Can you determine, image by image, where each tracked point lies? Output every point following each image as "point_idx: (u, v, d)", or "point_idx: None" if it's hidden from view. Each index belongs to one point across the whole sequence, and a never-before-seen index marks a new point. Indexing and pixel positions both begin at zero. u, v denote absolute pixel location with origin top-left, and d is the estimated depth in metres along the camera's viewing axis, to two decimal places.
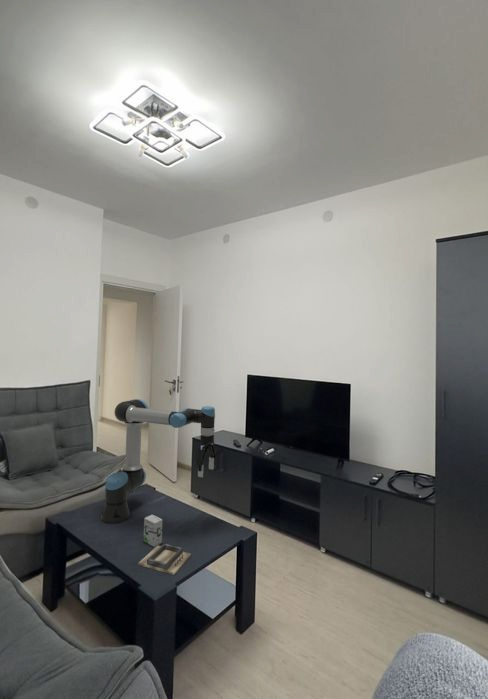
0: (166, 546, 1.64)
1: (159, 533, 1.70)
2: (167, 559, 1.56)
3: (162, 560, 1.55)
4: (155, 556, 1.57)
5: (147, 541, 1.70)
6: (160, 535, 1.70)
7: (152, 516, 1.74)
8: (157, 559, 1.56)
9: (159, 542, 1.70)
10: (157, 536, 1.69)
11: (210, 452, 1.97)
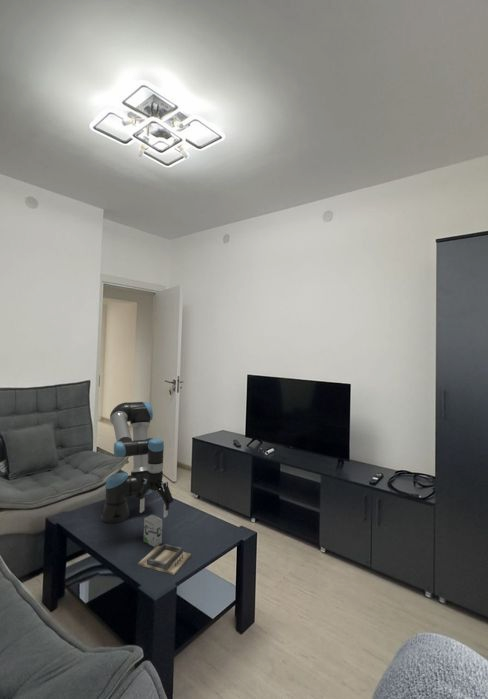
0: (166, 546, 1.64)
1: (159, 533, 1.70)
2: (167, 559, 1.56)
3: (162, 560, 1.55)
4: (155, 556, 1.57)
5: (147, 541, 1.70)
6: (160, 535, 1.70)
7: (152, 516, 1.74)
8: (157, 559, 1.56)
9: (159, 542, 1.70)
10: (157, 536, 1.69)
11: None
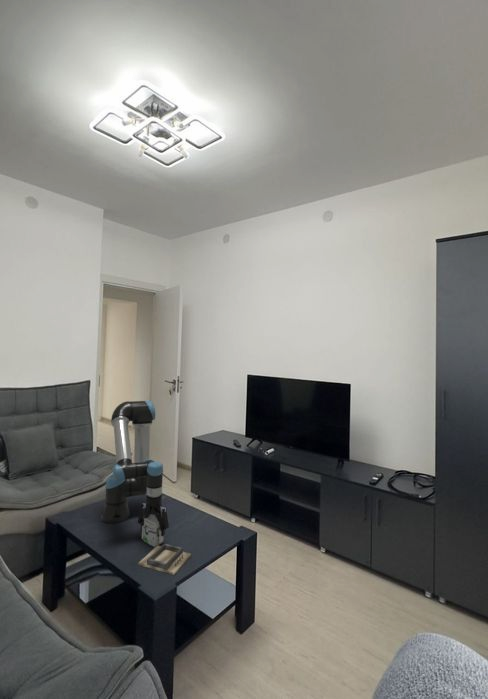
0: (166, 546, 1.64)
1: None
2: (167, 559, 1.56)
3: (162, 560, 1.55)
4: (155, 556, 1.57)
5: (147, 541, 1.70)
6: None
7: (152, 516, 1.74)
8: (157, 559, 1.56)
9: None
10: (157, 536, 1.69)
11: None
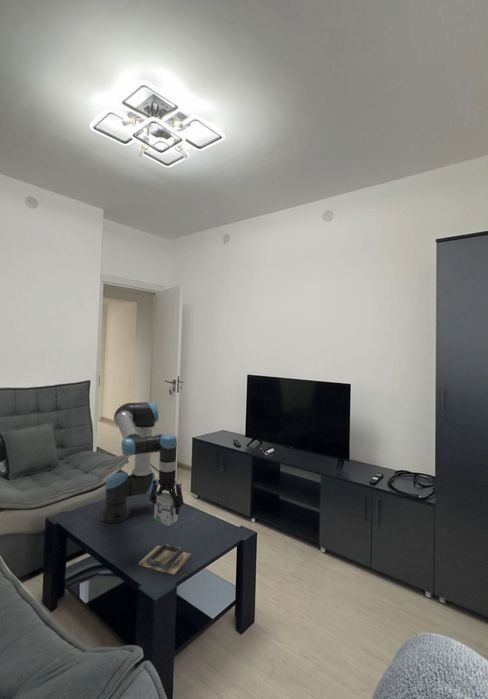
0: (166, 546, 1.64)
1: None
2: (167, 559, 1.56)
3: (162, 560, 1.55)
4: (155, 556, 1.57)
5: (160, 520, 1.56)
6: None
7: (165, 493, 1.60)
8: (157, 559, 1.56)
9: None
10: (171, 514, 1.55)
11: None
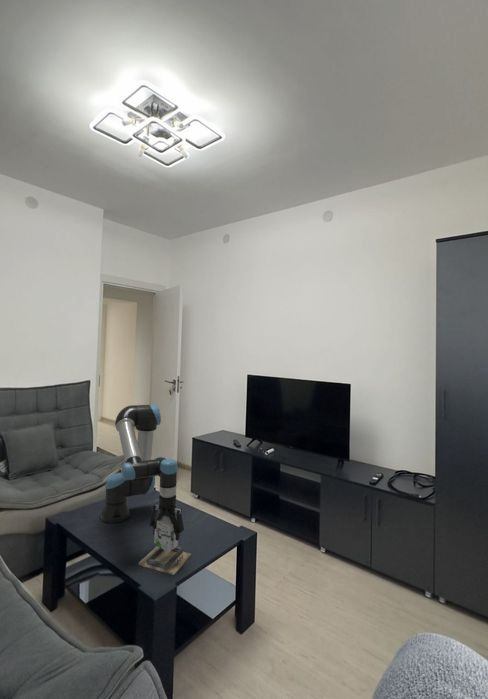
0: None
1: None
2: (167, 559, 1.56)
3: (162, 560, 1.55)
4: (155, 556, 1.57)
5: (160, 546, 1.56)
6: None
7: (165, 518, 1.59)
8: (157, 559, 1.56)
9: None
10: (171, 540, 1.54)
11: None
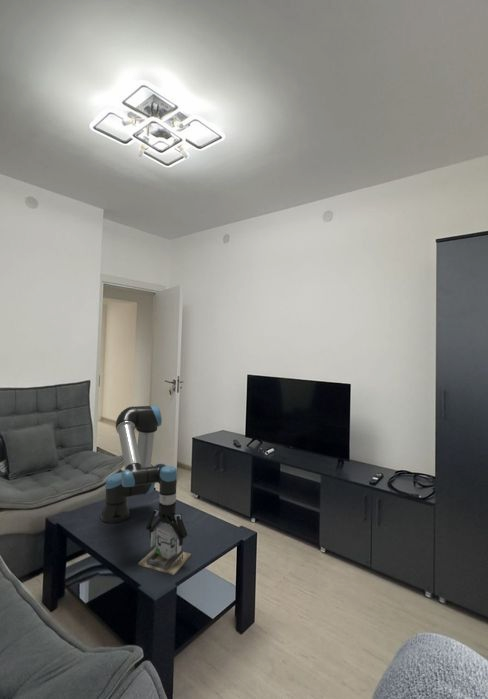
0: None
1: (173, 543, 1.55)
2: (167, 559, 1.56)
3: (162, 560, 1.55)
4: (155, 556, 1.57)
5: (160, 553, 1.56)
6: (174, 546, 1.56)
7: (165, 525, 1.59)
8: (157, 559, 1.56)
9: (173, 554, 1.55)
10: (170, 547, 1.54)
11: None
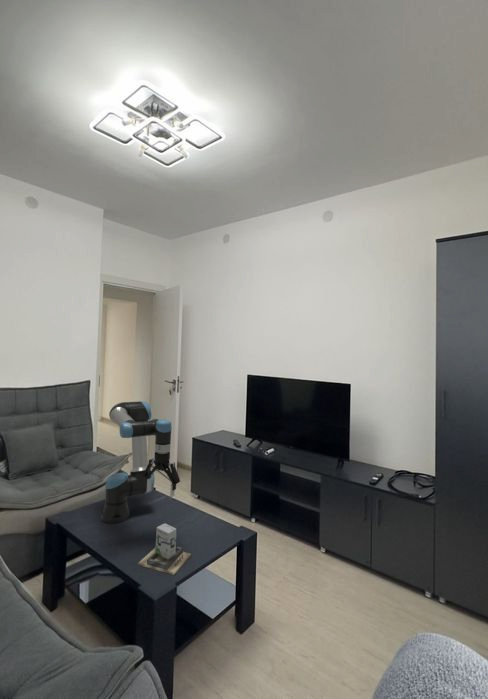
0: None
1: (173, 543, 1.55)
2: (167, 559, 1.56)
3: (162, 560, 1.55)
4: (155, 556, 1.57)
5: (160, 553, 1.56)
6: (174, 546, 1.56)
7: (165, 525, 1.59)
8: (157, 559, 1.56)
9: (173, 554, 1.55)
10: (170, 547, 1.54)
11: None
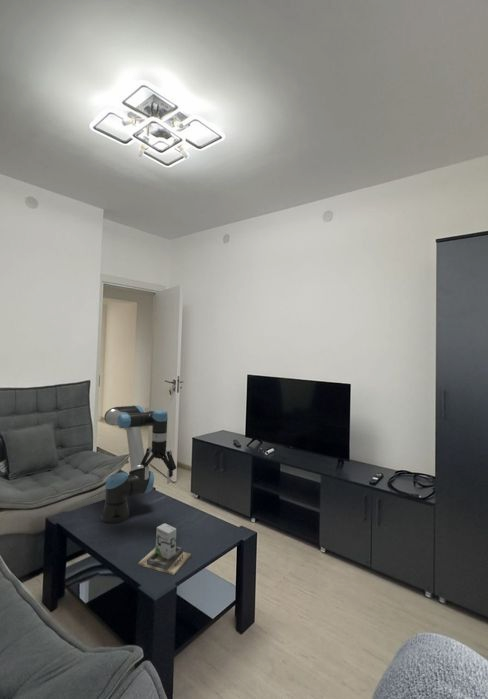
0: None
1: (173, 543, 1.55)
2: (167, 559, 1.56)
3: (162, 560, 1.55)
4: (155, 556, 1.57)
5: (160, 553, 1.56)
6: (174, 546, 1.56)
7: (165, 525, 1.59)
8: (157, 559, 1.56)
9: (173, 554, 1.55)
10: (170, 547, 1.54)
11: None
